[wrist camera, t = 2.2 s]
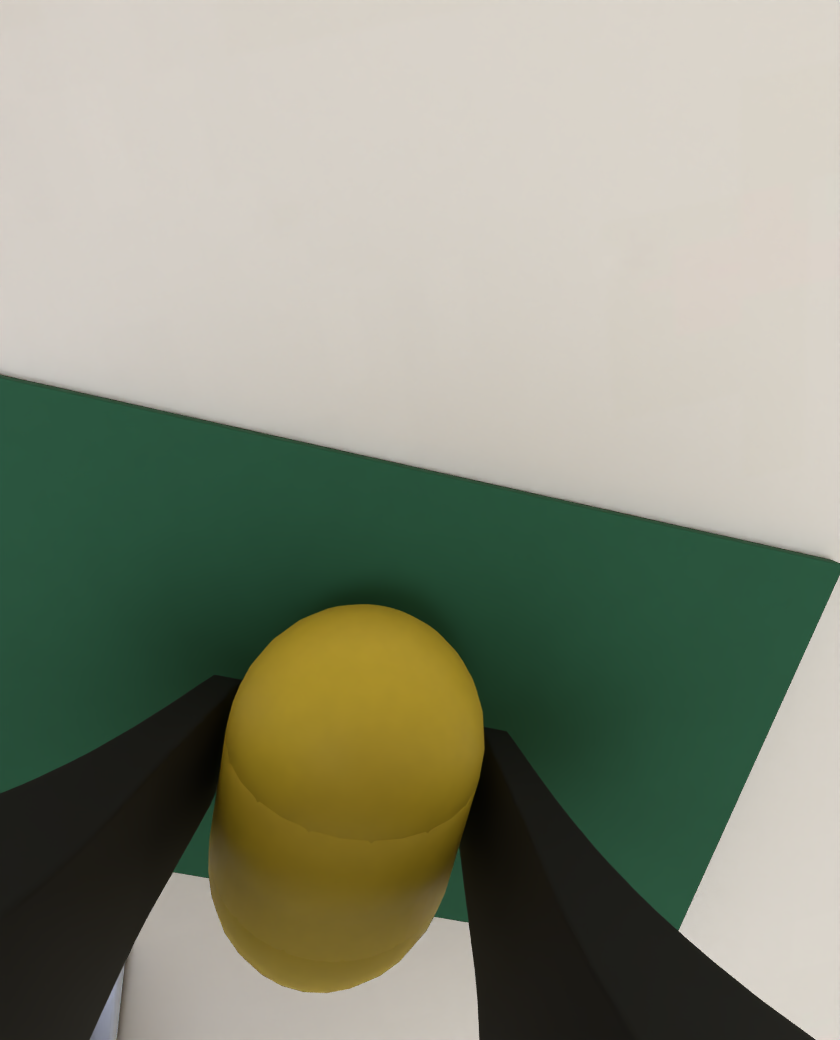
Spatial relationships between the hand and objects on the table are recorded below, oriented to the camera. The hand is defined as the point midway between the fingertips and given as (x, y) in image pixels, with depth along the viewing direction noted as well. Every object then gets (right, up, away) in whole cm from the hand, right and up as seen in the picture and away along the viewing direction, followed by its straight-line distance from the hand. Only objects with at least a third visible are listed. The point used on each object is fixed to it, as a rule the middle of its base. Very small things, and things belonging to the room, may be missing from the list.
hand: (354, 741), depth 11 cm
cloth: (0, 0, +2) cm, 2 cm away
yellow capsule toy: (0, 0, +1) cm, 1 cm away
